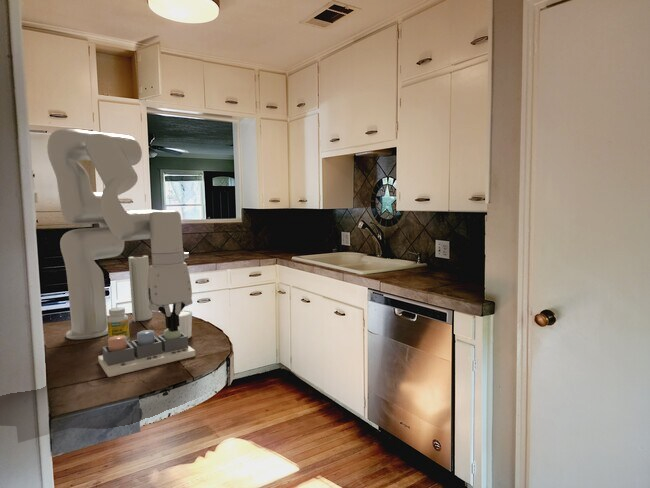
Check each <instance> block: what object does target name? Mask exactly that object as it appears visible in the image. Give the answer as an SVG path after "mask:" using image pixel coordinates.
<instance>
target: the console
mask: <svg viewBox="0 0 650 488" xmlns="http://www.w3.org/2000/svg"><path fill="white" fill-rule="evenodd" d="M101 350H102V355H98V356H97V360H98V363H99V365H100V367H101V368H102V370H103V371H104V372H105V374H106V375H107V377H108V378H110V377H114V376H119V375H123V374H126V373H127V374H128V373H130V372H131V373H132V372H135V371H139V370H143V369H147V368H152V367H156V366H160V365H164V364H167V363H169V364H170V363H172V362H177V361H180V360H184V359H188V358H189V359H190V358H193V357H196V349H194V348H192V347H191V346H190V345H189V338H188V336H187V335H185V334H184V333H182V332H181V337H179V338H175V339H170V340H165V339H164V334H160V335H157V337H156V336H155V343H151V344H146V345H142V346H138V342H137V339H134V340H130V341H129V342H127V349H123V350H118V351H113V352H109V347H108V345H106V346H102V348H101Z"/></svg>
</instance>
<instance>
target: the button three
mask: <svg viewBox="0 0 650 488" xmlns="http://www.w3.org/2000/svg"><path fill="white" fill-rule="evenodd" d="M163 335H164V339H165V340H170V339H175V338H179V337H181V330H180V328H178V331H175V330H174V331H173V332H171V331H170V330H168V328H166V329H164V330H163Z"/></svg>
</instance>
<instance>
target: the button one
mask: <svg viewBox="0 0 650 488" xmlns="http://www.w3.org/2000/svg"><path fill="white" fill-rule="evenodd" d="M107 343H108V344H107V346H108V347H109V352H113V351H118V350H123V349H127V338H126V336H123V335H120V336H114V337H110V338H109V337H108V339H107Z"/></svg>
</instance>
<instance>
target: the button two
mask: <svg viewBox="0 0 650 488" xmlns="http://www.w3.org/2000/svg"><path fill="white" fill-rule="evenodd" d="M155 337H156V336H155V330H154V329H153V330H152V329H146V330H145V329H144V330H141V331H138V332H137V333H136V340H137V342H138V346H142V345H146V344H151V343H155Z"/></svg>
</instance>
